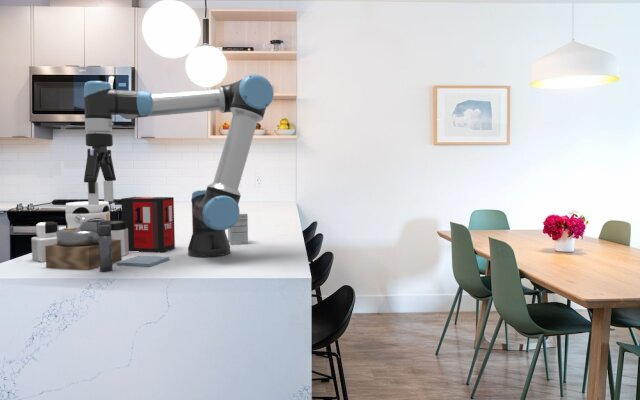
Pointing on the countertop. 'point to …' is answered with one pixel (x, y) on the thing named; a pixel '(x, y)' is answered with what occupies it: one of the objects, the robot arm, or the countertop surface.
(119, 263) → the mat
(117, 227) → the jar
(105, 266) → the cylinder
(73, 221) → the milk container
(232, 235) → the supplement box
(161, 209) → the cleaning product box
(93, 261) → the base
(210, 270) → the countertop surface
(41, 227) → the container
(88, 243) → the grey short round piece
